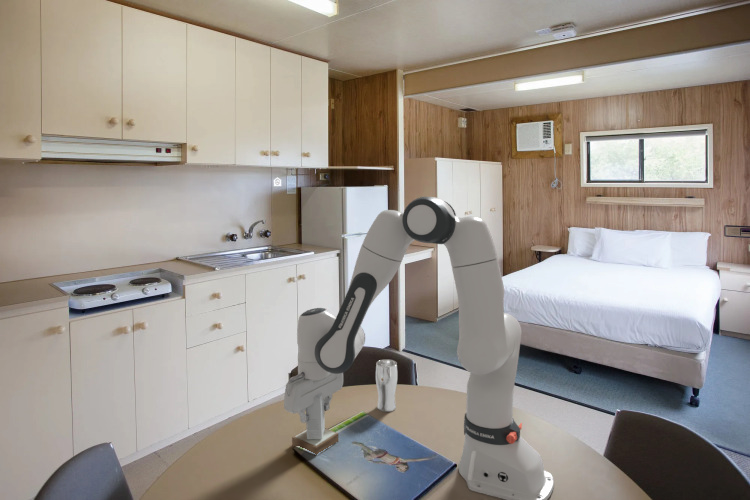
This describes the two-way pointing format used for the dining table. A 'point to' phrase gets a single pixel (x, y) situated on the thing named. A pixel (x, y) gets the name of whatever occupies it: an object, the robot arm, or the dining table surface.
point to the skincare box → (316, 419)
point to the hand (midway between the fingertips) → (315, 415)
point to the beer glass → (386, 384)
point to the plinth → (315, 441)
